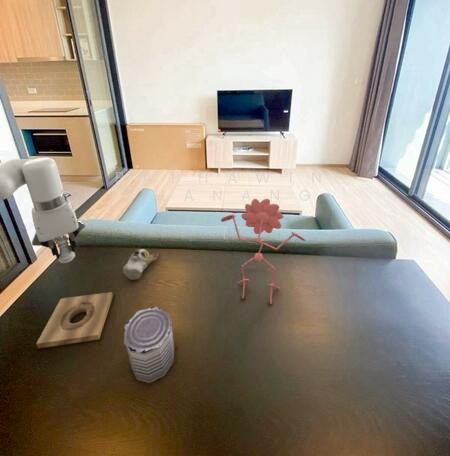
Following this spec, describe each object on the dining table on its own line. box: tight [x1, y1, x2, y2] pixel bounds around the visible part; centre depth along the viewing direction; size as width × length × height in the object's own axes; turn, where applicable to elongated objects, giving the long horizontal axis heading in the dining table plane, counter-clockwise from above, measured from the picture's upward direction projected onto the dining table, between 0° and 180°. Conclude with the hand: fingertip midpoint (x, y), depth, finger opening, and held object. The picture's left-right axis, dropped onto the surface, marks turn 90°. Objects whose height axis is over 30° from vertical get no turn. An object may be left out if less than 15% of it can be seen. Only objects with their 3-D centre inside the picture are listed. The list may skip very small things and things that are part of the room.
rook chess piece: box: [55, 235, 76, 264], centre depth 75 cm, size 4×4×8 cm
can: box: [123, 306, 175, 384], centre depth 63 cm, size 11×11×12 cm
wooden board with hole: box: [35, 291, 114, 350], centre depth 75 cm, size 16×14×2 cm
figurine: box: [220, 198, 306, 305], centre depth 80 cm, size 15×26×35 cm, turn 77°
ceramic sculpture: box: [122, 248, 161, 281], centre depth 92 cm, size 11×9×15 cm
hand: (65, 252), depth 76 cm, fingers closed on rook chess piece, 3 cm apart
